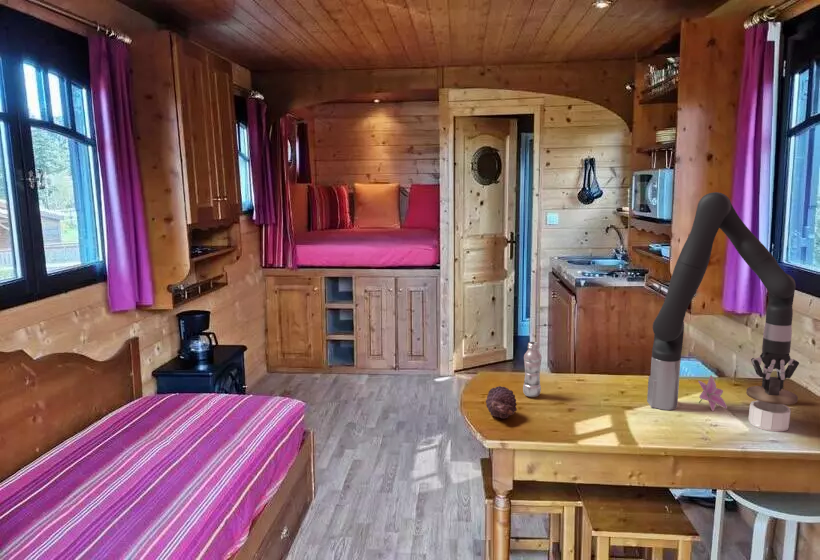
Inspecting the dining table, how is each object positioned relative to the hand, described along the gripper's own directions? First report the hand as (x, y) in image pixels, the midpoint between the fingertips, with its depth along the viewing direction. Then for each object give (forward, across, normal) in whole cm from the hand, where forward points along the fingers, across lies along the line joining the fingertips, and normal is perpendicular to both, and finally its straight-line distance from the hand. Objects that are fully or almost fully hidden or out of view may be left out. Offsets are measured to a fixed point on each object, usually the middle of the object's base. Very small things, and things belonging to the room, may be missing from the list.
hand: (772, 389), depth 190 cm
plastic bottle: (+12, -74, +17) cm, 77 cm away
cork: (+12, +11, +21) cm, 27 cm away
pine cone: (+12, -86, -3) cm, 86 cm away
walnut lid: (+2, 0, 0) cm, 2 cm away
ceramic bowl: (+12, 0, 0) cm, 12 cm away
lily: (+12, -13, +14) cm, 23 cm away
